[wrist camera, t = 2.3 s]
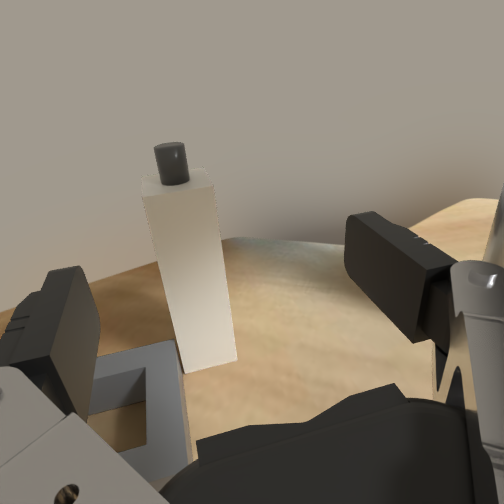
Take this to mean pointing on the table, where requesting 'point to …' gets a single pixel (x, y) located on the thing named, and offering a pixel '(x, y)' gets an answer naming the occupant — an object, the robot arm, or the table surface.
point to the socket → (148, 406)
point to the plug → (190, 258)
